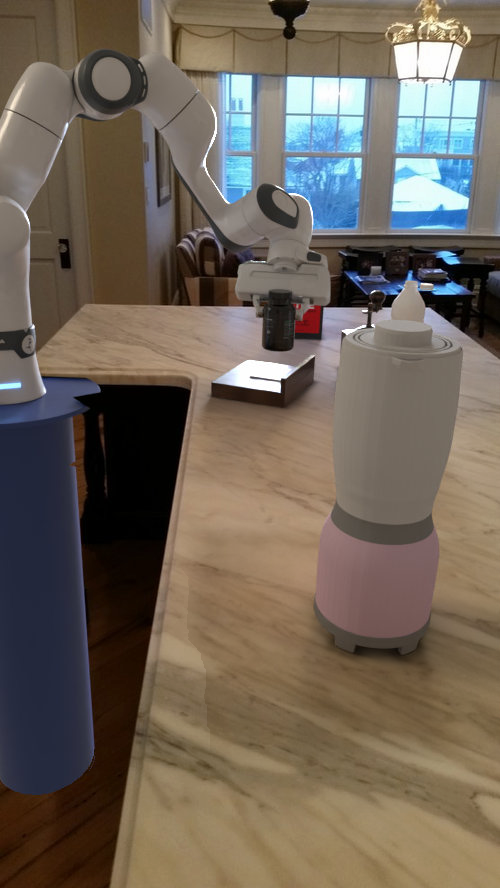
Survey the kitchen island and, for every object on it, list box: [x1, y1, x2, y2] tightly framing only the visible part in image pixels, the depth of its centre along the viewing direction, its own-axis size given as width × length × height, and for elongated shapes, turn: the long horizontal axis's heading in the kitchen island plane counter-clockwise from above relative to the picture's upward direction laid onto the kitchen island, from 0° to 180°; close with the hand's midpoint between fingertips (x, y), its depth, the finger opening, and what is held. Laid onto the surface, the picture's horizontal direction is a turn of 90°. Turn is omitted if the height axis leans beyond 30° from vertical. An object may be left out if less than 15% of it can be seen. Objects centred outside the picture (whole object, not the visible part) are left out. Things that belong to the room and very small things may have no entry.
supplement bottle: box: [261, 289, 296, 353], centre depth 147 cm, size 7×7×12 cm
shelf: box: [210, 354, 316, 408], centre depth 150 cm, size 16×20×6 cm
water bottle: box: [389, 279, 435, 323], centre depth 139 cm, size 9×6×25 cm
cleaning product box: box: [293, 304, 325, 340], centre depth 199 cm, size 16×9×20 cm, turn 179°
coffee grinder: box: [339, 289, 387, 355], centre depth 163 cm, size 16×11×18 cm
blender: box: [313, 319, 464, 656], centre depth 71 cm, size 16×12×32 cm
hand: (278, 317), depth 146 cm, fingers closed on supplement bottle, 7 cm apart
